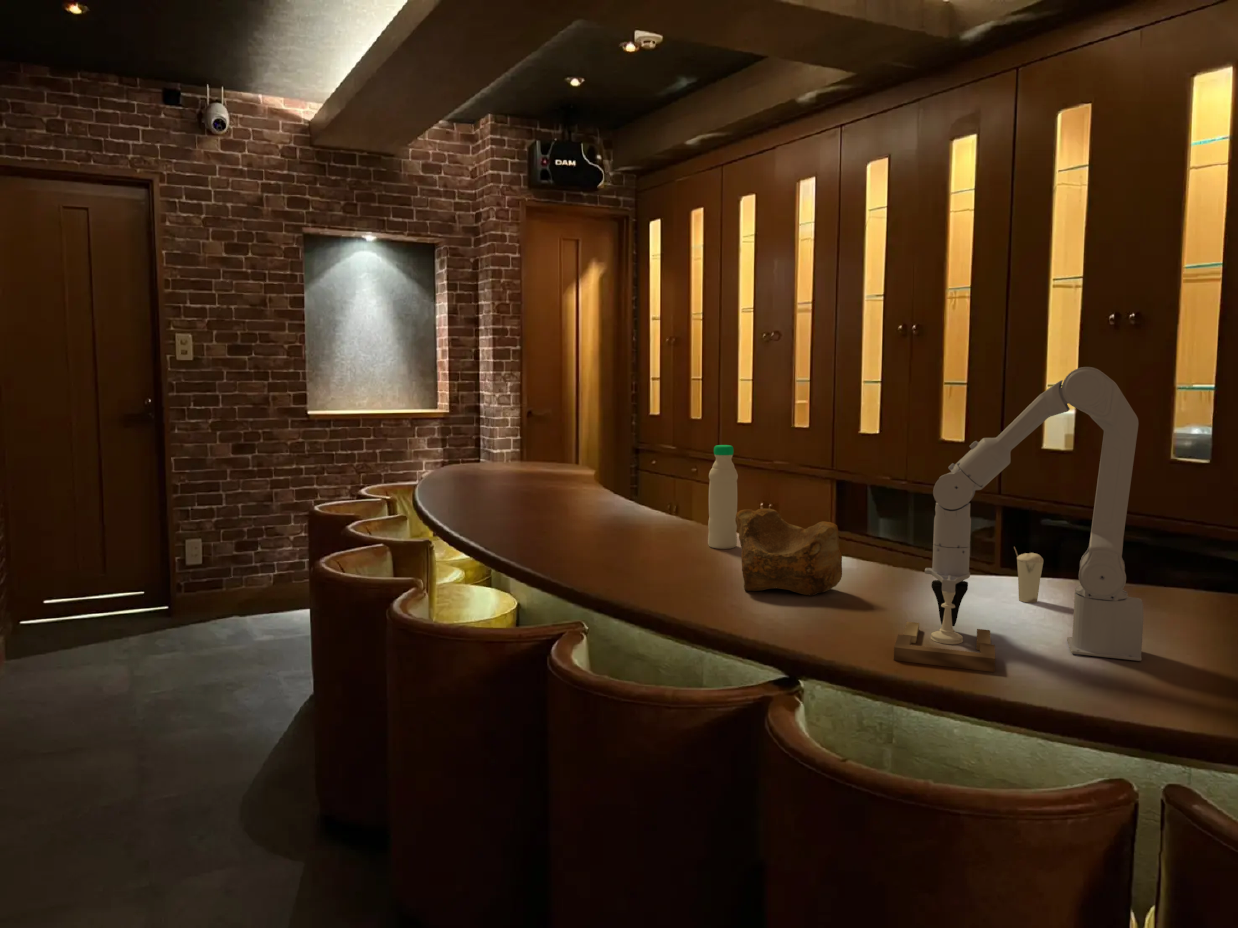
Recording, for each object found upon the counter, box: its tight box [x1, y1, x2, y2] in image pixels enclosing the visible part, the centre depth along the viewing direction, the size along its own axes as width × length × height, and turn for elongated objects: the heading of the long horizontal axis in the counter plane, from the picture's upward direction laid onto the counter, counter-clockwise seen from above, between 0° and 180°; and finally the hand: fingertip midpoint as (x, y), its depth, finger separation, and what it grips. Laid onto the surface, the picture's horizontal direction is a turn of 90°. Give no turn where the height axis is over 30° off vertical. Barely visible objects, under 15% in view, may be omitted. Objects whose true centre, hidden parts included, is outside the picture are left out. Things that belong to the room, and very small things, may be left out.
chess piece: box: [930, 579, 964, 645], centre depth 145 cm, size 5×5×10 cm
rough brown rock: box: [735, 508, 843, 596], centre depth 178 cm, size 23×17×15 cm
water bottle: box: [707, 444, 739, 550], centre depth 219 cm, size 7×7×25 cm
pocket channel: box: [902, 621, 992, 651], centre depth 145 cm, size 13×8×1 cm, turn 68°
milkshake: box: [1013, 546, 1044, 604], centre depth 169 cm, size 4×5×10 cm
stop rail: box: [893, 634, 996, 673], centre depth 135 cm, size 14×7×2 cm, turn 68°
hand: (948, 624), depth 150 cm, fingers closed
